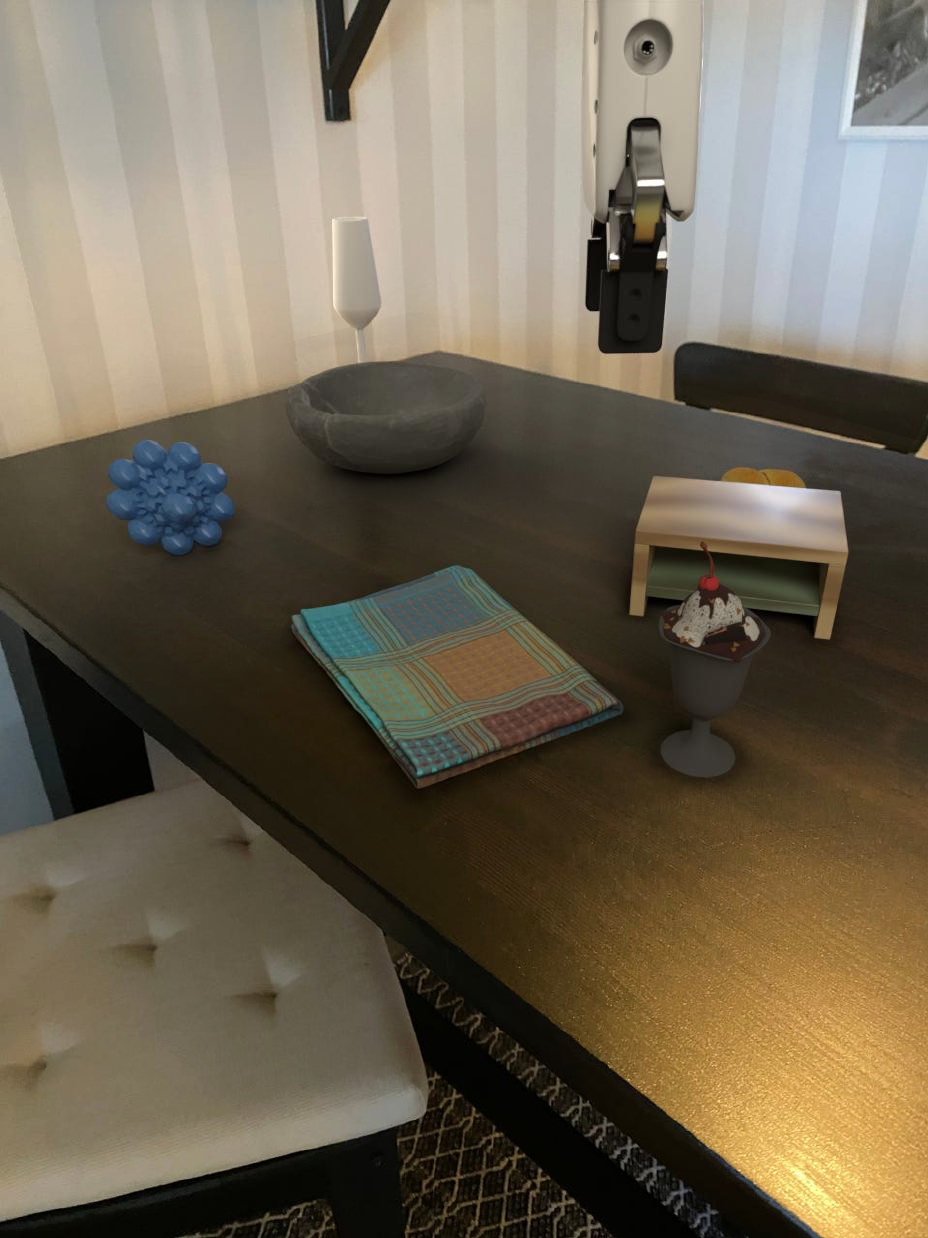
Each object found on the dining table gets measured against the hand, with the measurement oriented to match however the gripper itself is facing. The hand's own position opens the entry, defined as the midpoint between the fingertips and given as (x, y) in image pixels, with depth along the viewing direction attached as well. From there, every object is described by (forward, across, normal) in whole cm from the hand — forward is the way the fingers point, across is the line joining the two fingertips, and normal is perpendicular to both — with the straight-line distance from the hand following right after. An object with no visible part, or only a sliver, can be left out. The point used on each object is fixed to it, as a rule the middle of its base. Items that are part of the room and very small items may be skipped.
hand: (619, 329), depth 50 cm
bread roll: (+27, +37, -20) cm, 50 cm away
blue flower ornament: (+27, +25, +38) cm, 53 cm away
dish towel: (+27, +6, +11) cm, 30 cm away
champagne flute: (+27, +78, +28) cm, 87 cm away
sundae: (+27, -4, -6) cm, 28 cm away
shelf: (+27, +18, -13) cm, 35 cm away
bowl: (+27, +50, +20) cm, 60 cm away
